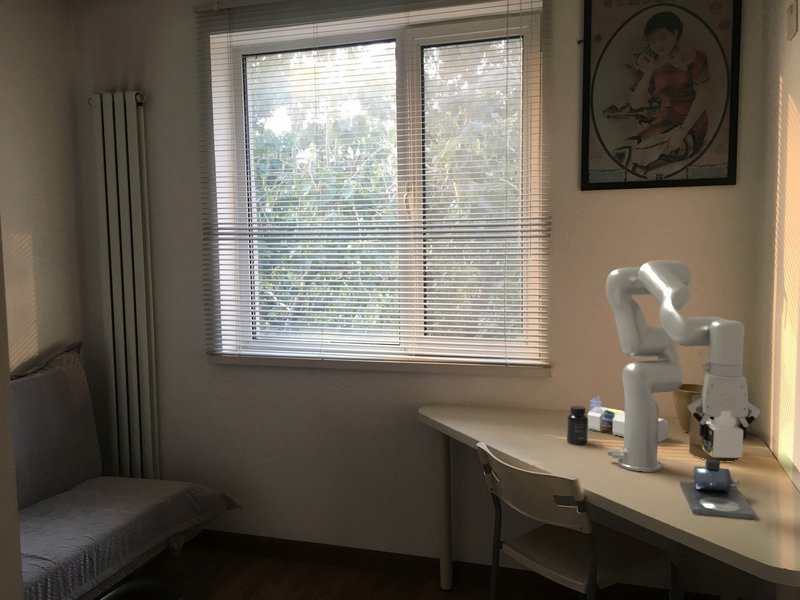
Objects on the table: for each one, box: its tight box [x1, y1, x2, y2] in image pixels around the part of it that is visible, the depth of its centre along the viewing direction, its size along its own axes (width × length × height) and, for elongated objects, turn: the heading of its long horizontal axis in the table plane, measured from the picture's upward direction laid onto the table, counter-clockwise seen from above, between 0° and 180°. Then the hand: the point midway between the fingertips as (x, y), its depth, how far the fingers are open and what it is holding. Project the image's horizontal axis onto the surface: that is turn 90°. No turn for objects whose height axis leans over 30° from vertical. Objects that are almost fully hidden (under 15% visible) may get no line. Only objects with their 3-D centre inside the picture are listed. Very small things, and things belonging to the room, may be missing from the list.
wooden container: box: [688, 394, 741, 462], centre depth 210 cm, size 15×15×22 cm
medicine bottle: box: [702, 411, 744, 459], centre depth 166 cm, size 7×7×12 cm
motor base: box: [679, 459, 756, 520], centre depth 172 cm, size 14×20×9 cm
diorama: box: [586, 395, 669, 443], centre depth 234 cm, size 25×10×13 cm, turn 43°
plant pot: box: [671, 382, 703, 432], centre depth 237 cm, size 15×15×16 cm
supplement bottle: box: [566, 405, 589, 446], centre depth 224 cm, size 7×7×12 cm
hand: (722, 439), depth 166 cm, fingers closed on medicine bottle, 7 cm apart
